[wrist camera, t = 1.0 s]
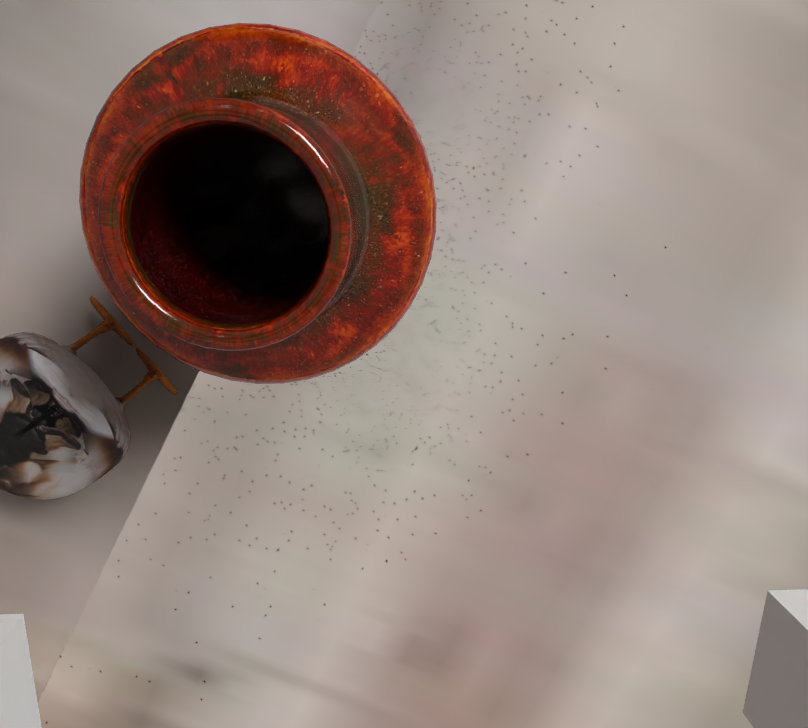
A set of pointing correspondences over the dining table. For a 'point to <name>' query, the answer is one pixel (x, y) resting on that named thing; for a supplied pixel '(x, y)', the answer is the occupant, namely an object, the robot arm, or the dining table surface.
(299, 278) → the vase
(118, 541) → the dining table surface
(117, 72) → the dining table surface
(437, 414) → the dining table surface
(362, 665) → the dining table surface
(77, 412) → the decorative duck model
